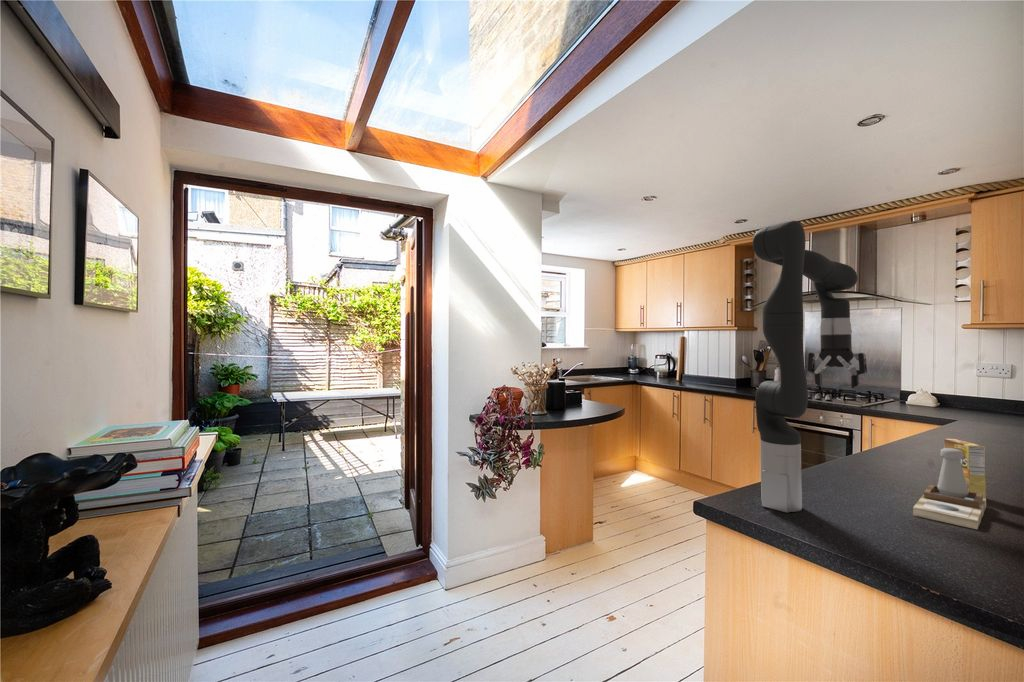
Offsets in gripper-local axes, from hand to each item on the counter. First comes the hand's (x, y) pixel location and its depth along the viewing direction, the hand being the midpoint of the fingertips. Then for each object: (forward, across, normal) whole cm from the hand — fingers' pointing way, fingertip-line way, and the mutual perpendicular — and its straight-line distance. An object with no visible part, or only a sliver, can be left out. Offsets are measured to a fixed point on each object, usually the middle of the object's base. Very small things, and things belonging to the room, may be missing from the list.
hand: (836, 387), depth 131 cm
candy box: (+30, +25, +17) cm, 43 cm away
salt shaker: (+28, +24, +4) cm, 37 cm away
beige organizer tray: (+30, +24, -1) cm, 39 cm away
